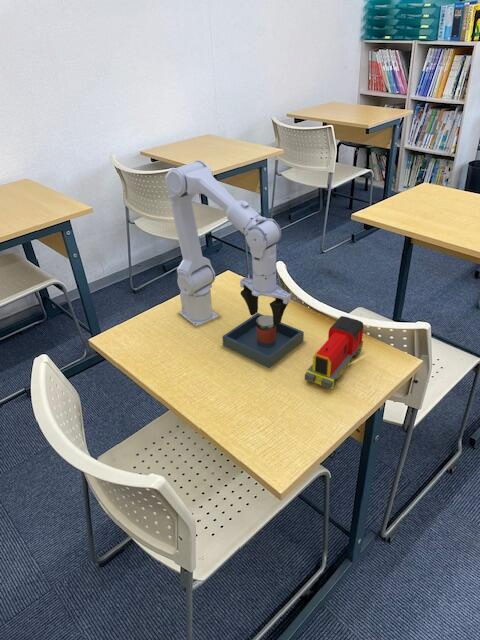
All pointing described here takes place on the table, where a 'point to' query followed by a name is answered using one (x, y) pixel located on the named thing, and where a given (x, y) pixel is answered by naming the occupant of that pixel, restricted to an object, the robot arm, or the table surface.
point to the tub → (246, 345)
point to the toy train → (336, 352)
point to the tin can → (266, 331)
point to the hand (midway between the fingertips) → (265, 318)
